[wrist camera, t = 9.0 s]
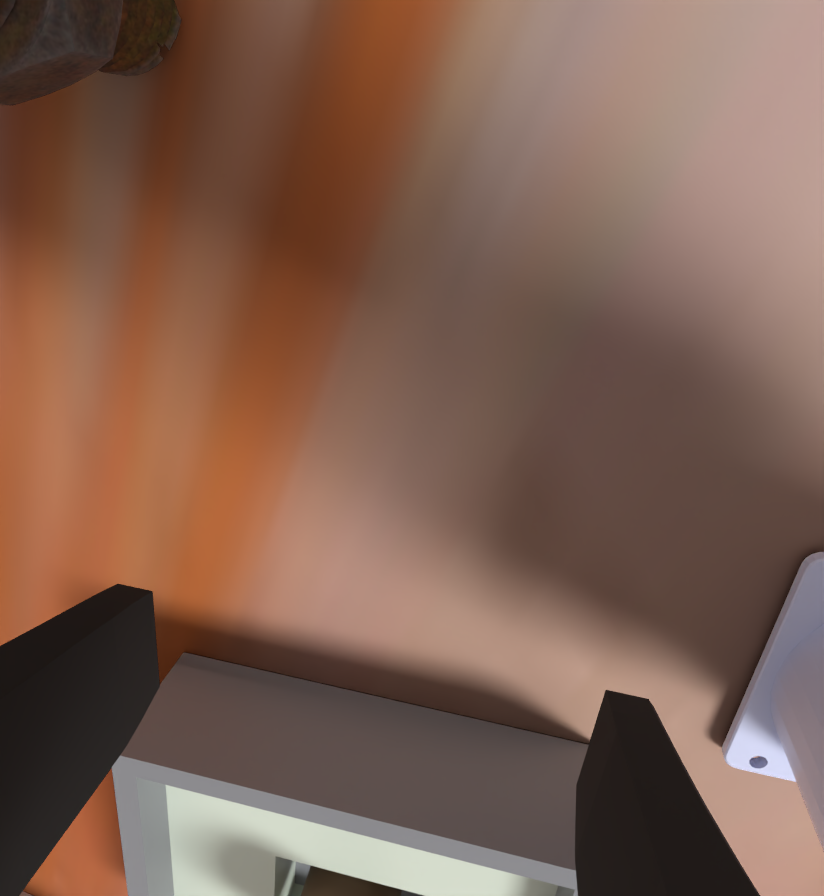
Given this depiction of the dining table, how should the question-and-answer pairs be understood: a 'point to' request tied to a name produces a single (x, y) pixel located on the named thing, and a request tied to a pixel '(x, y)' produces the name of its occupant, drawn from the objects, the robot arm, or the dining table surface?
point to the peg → (342, 885)
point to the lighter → (25, 894)
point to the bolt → (78, 42)
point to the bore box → (336, 792)
